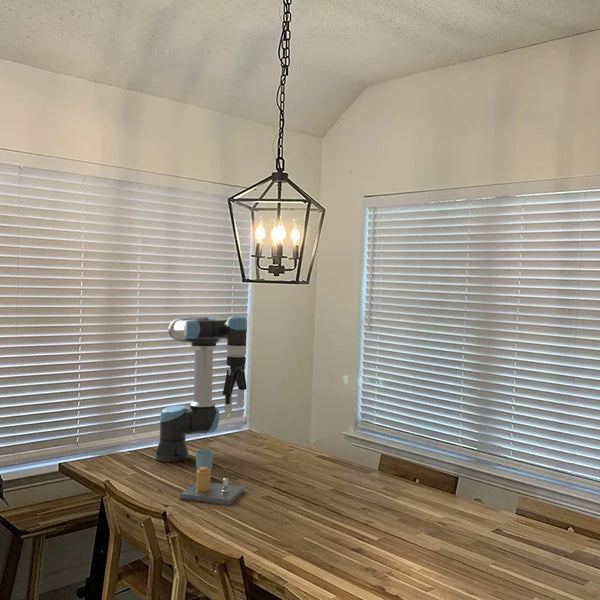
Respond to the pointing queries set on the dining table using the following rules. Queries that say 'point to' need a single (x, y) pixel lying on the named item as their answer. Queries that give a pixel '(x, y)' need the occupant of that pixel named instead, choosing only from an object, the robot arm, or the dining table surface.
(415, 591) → the dining table surface
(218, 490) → the junction plate
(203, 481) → the wooden jar
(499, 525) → the dining table surface
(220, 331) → the robot arm
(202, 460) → the cup
